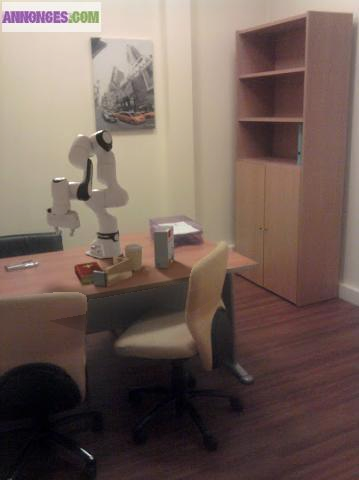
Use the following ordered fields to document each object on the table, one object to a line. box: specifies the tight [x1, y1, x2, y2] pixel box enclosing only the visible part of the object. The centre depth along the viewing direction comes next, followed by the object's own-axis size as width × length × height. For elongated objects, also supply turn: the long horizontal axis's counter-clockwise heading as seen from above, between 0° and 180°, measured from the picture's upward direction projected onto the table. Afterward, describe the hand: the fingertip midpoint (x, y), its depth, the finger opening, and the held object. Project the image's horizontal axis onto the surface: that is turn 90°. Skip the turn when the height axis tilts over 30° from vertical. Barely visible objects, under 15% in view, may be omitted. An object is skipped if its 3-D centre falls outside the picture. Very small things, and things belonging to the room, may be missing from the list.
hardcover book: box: [74, 261, 105, 284], centre depth 239 cm, size 12×21×4 cm, turn 21°
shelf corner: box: [105, 256, 133, 288], centre depth 230 cm, size 10×18×9 cm, turn 148°
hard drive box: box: [153, 224, 175, 269], centre depth 250 cm, size 16×8×20 cm, turn 168°
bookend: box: [93, 271, 108, 288], centre depth 223 cm, size 7×2×7 cm, turn 58°
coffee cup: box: [124, 243, 143, 271], centre depth 246 cm, size 9×9×12 cm
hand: (64, 235), depth 241 cm, fingers open, 8 cm apart
